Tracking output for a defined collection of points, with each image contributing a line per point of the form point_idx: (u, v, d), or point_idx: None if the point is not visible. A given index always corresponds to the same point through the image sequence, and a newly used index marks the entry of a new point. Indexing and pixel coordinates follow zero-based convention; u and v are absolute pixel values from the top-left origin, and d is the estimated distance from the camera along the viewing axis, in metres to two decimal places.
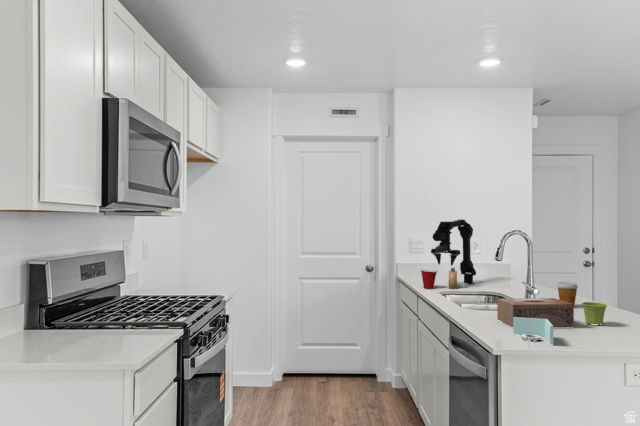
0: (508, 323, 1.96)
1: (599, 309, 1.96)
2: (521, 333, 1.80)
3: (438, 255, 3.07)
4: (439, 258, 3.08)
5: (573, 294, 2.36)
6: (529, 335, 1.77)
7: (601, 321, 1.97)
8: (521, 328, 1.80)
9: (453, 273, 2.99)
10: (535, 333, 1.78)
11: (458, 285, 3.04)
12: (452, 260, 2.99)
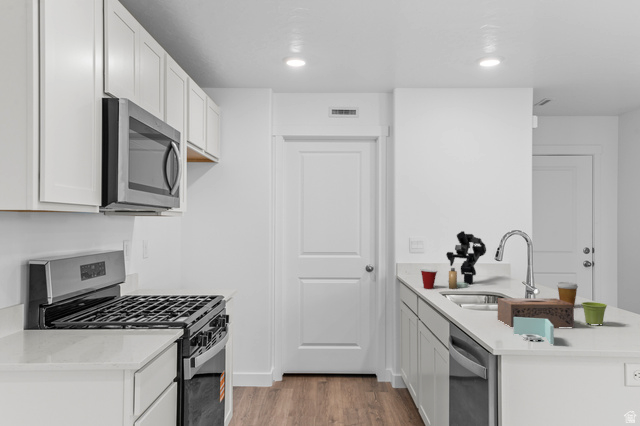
0: (507, 323, 1.97)
1: (599, 309, 1.96)
2: (521, 333, 1.80)
3: (452, 258, 3.14)
4: (452, 261, 3.13)
5: (573, 294, 2.36)
6: (529, 335, 1.77)
7: (601, 321, 1.97)
8: (521, 328, 1.80)
9: (453, 273, 2.99)
10: (535, 333, 1.78)
11: (458, 285, 3.04)
12: (467, 262, 3.05)
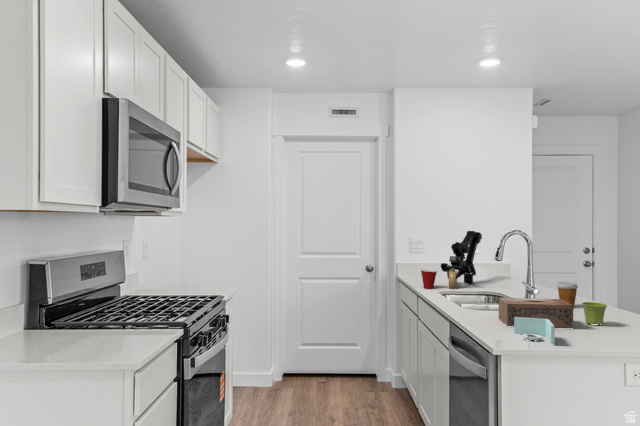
0: (504, 322, 1.98)
1: (599, 309, 1.96)
2: (522, 333, 1.80)
3: (449, 270, 3.05)
4: None
5: (573, 294, 2.36)
6: (530, 335, 1.77)
7: (601, 321, 1.97)
8: (522, 328, 1.80)
9: (453, 273, 2.99)
10: (536, 333, 1.78)
11: (458, 285, 3.04)
12: (458, 273, 2.99)
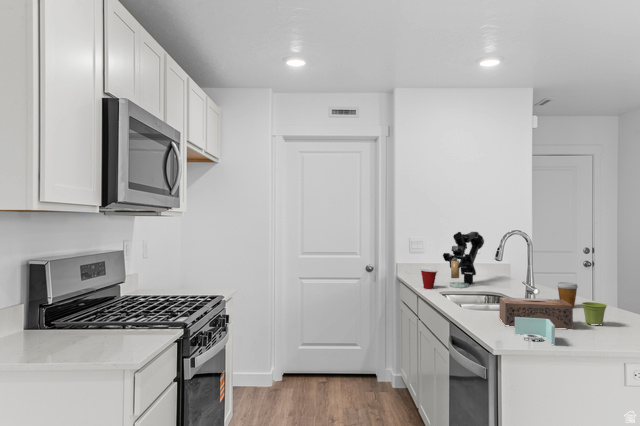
0: (503, 321, 1.99)
1: (599, 309, 1.96)
2: (523, 333, 1.80)
3: None
4: None
5: (573, 294, 2.36)
6: (531, 335, 1.77)
7: (601, 321, 1.97)
8: (522, 328, 1.80)
9: (455, 262, 3.02)
10: (537, 333, 1.78)
11: (458, 285, 3.04)
12: (461, 263, 3.02)
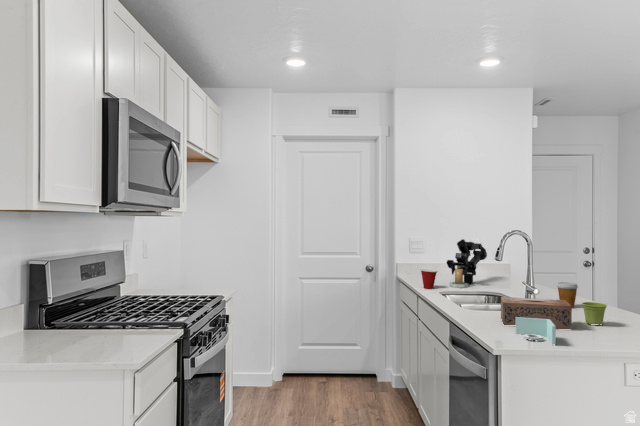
0: (502, 320, 2.01)
1: (599, 309, 1.96)
2: (523, 333, 1.80)
3: (454, 267, 3.14)
4: (453, 270, 3.13)
5: (573, 294, 2.36)
6: (531, 335, 1.77)
7: (601, 321, 1.97)
8: (523, 328, 1.80)
9: (459, 271, 3.07)
10: (537, 333, 1.78)
11: (458, 285, 3.04)
12: (466, 270, 3.06)
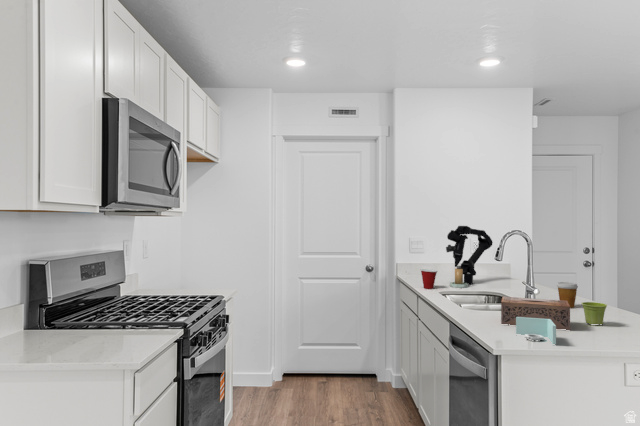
0: None
1: (599, 309, 1.96)
2: (524, 333, 1.80)
3: None
4: None
5: (573, 294, 2.36)
6: (532, 335, 1.77)
7: (601, 321, 1.97)
8: (523, 328, 1.80)
9: (459, 271, 3.07)
10: (538, 333, 1.78)
11: (458, 285, 3.04)
12: (455, 260, 3.12)
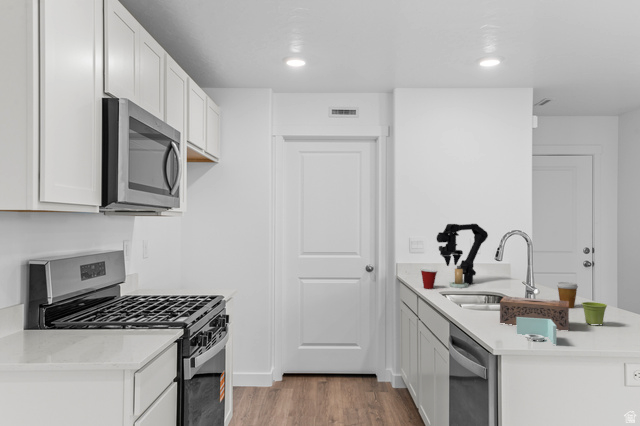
0: None
1: (599, 309, 1.96)
2: (524, 333, 1.80)
3: (455, 256, 3.21)
4: (456, 259, 3.21)
5: (573, 294, 2.36)
6: (532, 335, 1.77)
7: (601, 321, 1.97)
8: (524, 328, 1.80)
9: (459, 271, 3.07)
10: (538, 333, 1.78)
11: (458, 285, 3.04)
12: (445, 260, 3.15)
